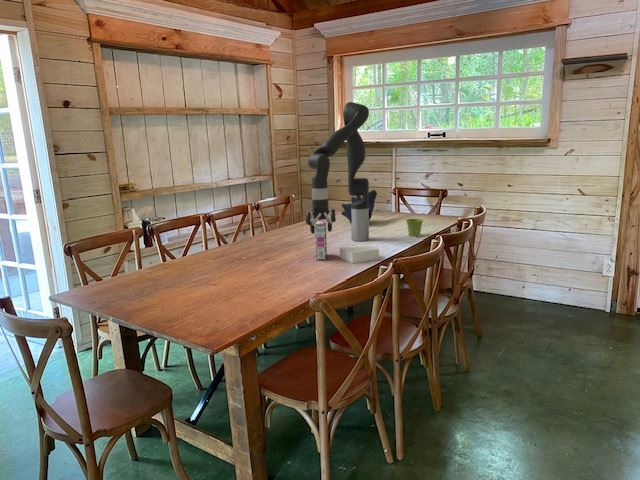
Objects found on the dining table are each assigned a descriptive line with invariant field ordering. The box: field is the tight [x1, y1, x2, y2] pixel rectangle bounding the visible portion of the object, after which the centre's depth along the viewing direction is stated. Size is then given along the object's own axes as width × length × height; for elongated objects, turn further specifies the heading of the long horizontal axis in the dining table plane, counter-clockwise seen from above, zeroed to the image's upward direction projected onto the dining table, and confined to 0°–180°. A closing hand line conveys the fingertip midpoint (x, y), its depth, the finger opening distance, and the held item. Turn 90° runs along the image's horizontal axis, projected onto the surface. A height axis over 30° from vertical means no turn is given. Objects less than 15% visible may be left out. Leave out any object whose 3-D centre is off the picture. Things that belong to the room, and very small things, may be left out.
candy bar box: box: [314, 220, 328, 261], centre depth 221 cm, size 11×5×16 cm, turn 178°
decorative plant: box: [341, 189, 378, 224], centre depth 303 cm, size 21×26×30 cm
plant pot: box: [405, 218, 424, 237], centre depth 261 cm, size 9×9×9 cm
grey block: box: [339, 243, 380, 264], centre depth 219 cm, size 12×14×5 cm
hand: (321, 232), depth 220 cm, fingers open, 8 cm apart
